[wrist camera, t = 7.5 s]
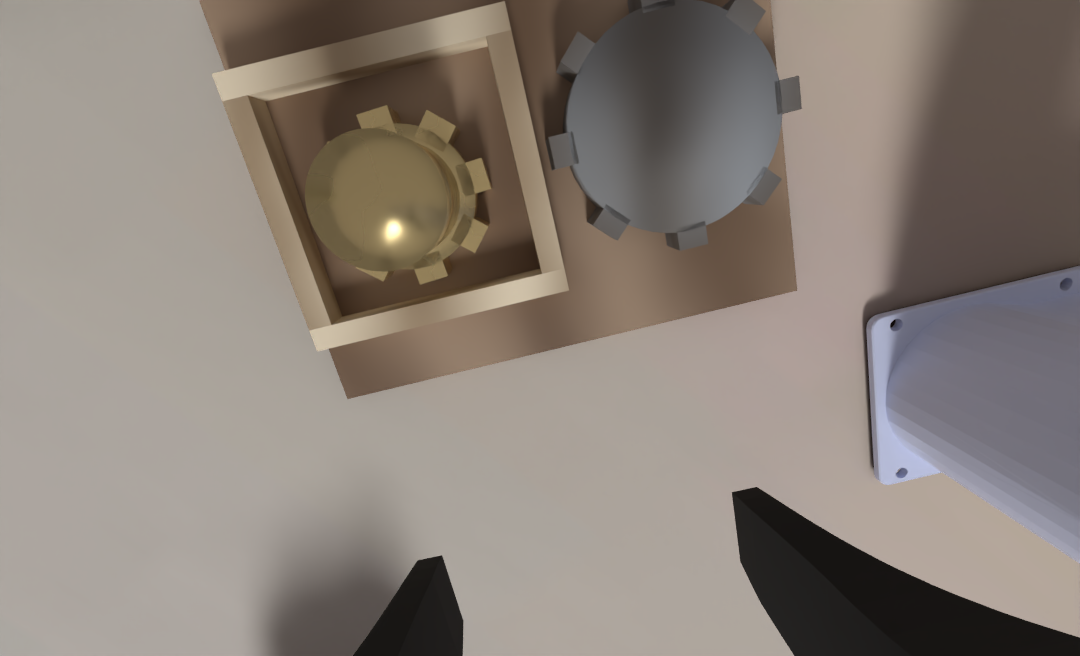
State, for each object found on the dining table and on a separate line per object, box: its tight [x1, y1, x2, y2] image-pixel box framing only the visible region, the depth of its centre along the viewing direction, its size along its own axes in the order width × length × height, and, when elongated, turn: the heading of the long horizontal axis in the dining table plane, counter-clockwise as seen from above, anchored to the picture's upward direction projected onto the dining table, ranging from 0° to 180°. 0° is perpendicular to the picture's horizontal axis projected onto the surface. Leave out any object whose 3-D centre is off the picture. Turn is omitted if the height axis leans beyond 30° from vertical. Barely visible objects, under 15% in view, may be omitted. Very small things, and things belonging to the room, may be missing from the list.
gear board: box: [200, 0, 802, 399], centre depth 17 cm, size 18×14×2 cm
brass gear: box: [305, 105, 493, 285], centre depth 15 cm, size 6×6×5 cm
